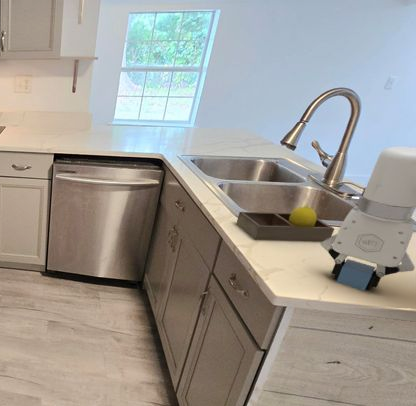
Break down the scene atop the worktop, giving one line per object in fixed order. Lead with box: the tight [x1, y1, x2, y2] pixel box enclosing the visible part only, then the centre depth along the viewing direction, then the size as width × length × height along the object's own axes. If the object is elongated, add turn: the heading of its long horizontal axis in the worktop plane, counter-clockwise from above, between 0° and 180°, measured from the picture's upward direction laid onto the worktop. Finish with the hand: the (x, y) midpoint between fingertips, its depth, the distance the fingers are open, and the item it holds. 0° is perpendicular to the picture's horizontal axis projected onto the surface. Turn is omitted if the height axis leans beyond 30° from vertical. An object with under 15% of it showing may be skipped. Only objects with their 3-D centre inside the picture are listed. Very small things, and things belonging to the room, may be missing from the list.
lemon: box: [289, 205, 317, 227], centre depth 100 cm, size 6×6×8 cm
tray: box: [235, 211, 335, 243], centre depth 102 cm, size 10×18×4 cm, turn 83°
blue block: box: [335, 258, 376, 292], centre depth 80 cm, size 4×4×4 cm
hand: (352, 282), depth 81 cm, fingers closed on blue block, 4 cm apart
